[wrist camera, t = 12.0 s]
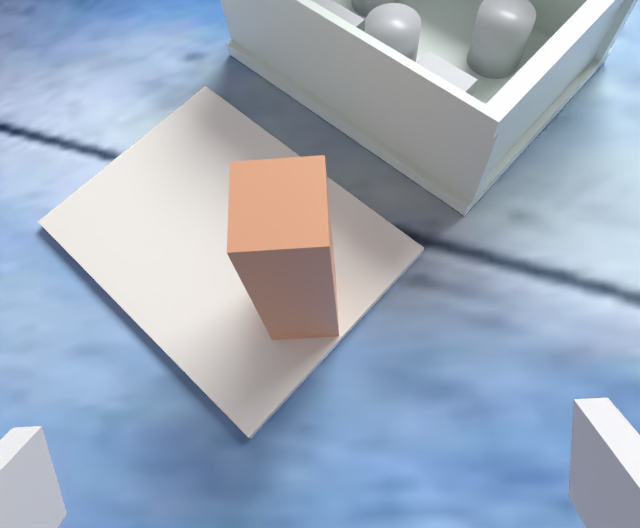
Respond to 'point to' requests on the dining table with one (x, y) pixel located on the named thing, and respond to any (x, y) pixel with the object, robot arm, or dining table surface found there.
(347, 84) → the tub
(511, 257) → the dining table surface
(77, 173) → the dining table surface
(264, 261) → the lid
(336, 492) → the dining table surface
